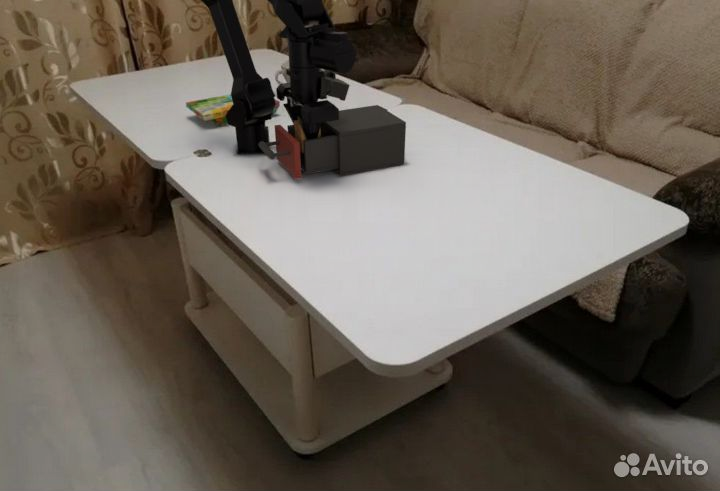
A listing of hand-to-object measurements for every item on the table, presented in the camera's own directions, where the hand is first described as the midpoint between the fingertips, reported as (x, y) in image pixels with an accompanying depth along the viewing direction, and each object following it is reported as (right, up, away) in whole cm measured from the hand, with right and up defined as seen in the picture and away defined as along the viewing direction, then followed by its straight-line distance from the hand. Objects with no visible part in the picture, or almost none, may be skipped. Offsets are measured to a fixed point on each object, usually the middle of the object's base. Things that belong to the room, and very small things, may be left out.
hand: (308, 143), depth 119 cm
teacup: (-6, +23, +51) cm, 56 cm away
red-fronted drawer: (0, -4, +2) cm, 5 cm away
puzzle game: (-21, +12, +31) cm, 40 cm away
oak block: (0, -1, 0) cm, 1 cm away
